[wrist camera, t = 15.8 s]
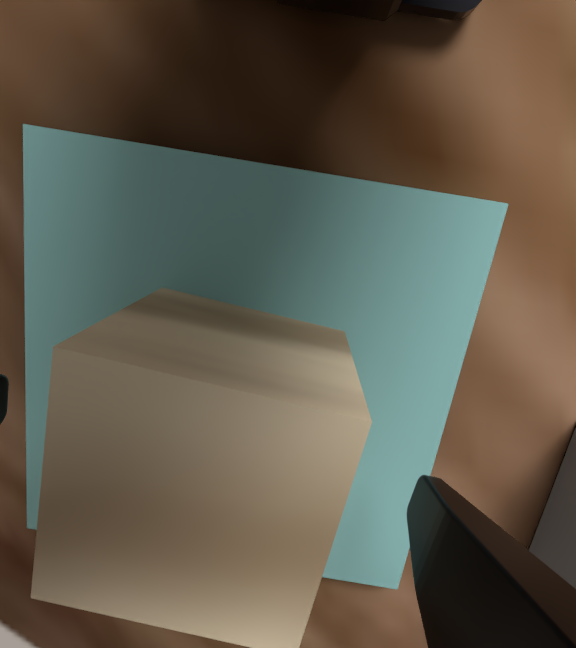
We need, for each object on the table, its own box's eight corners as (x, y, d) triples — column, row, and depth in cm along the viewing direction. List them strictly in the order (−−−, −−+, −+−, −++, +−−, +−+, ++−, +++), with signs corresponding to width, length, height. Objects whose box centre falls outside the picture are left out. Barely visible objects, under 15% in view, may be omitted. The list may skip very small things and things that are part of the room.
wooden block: (161, 287, 11) (53, 346, 6) (344, 331, 11) (372, 422, 6) (136, 448, 13) (30, 598, 8) (300, 486, 13) (296, 657, 8)
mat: (37, 128, 11) (23, 124, 10) (497, 203, 11) (508, 203, 10) (38, 515, 14) (26, 528, 14) (393, 573, 14) (397, 589, 14)
